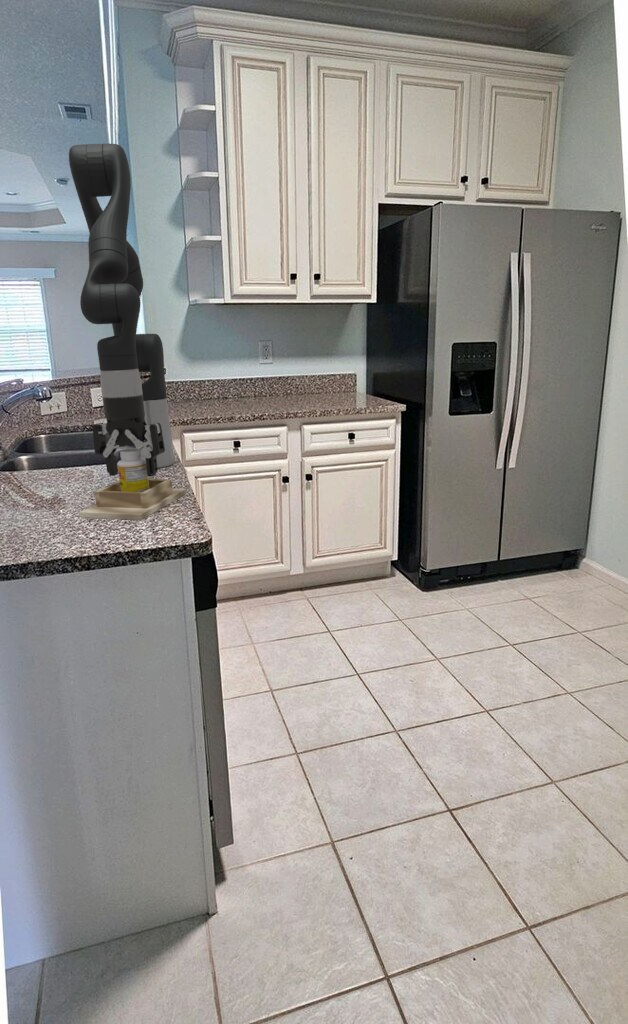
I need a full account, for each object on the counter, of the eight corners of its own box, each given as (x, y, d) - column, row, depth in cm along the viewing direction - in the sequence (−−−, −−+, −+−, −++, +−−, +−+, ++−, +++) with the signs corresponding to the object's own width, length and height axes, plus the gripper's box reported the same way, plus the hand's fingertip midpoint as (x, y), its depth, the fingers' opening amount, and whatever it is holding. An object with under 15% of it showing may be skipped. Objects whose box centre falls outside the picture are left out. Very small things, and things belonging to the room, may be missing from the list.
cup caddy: (132, 491, 135) (130, 474, 134) (186, 493, 132) (184, 475, 131) (80, 517, 118) (77, 497, 117) (141, 519, 115) (138, 499, 113)
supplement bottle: (125, 497, 127) (118, 448, 124) (152, 495, 128) (146, 446, 125) (119, 504, 122) (113, 453, 119) (148, 502, 122) (142, 451, 119)
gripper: (165, 391, 120) (173, 471, 125) (101, 392, 124) (111, 470, 128) (145, 395, 113) (155, 480, 118) (78, 396, 117) (90, 479, 122)
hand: (132, 475), depth 123 cm, fingers open, 8 cm apart
